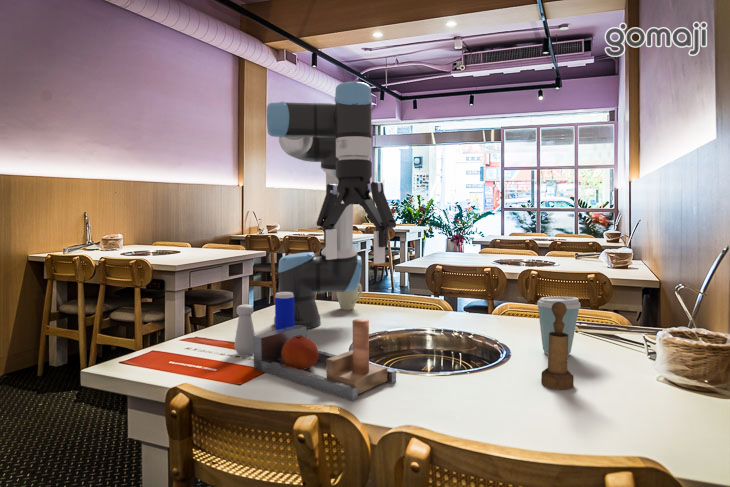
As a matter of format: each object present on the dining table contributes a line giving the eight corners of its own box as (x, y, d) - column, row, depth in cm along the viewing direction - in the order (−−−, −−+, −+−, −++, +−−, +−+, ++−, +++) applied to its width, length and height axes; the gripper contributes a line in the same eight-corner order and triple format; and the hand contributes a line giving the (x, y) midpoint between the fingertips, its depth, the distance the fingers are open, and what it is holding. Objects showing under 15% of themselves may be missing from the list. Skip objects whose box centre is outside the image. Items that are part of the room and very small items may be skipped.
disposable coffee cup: (528, 354, 132) (529, 297, 131) (546, 345, 140) (547, 291, 139) (569, 362, 125) (571, 302, 123) (585, 353, 132) (587, 296, 131)
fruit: (287, 377, 115) (286, 342, 114) (277, 365, 123) (277, 333, 123) (324, 371, 119) (323, 338, 118) (312, 361, 127) (312, 329, 126)
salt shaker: (251, 357, 129) (250, 307, 128) (230, 356, 131) (229, 307, 130) (260, 351, 135) (259, 303, 134) (240, 350, 136) (239, 302, 135)
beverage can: (298, 345, 141) (297, 292, 139) (288, 350, 136) (287, 295, 135) (282, 343, 143) (281, 291, 142) (272, 348, 138) (271, 293, 137)
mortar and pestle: (570, 392, 105) (572, 306, 104) (538, 386, 108) (539, 303, 107) (575, 382, 111) (578, 301, 109) (545, 377, 114) (546, 298, 113)
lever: (359, 373, 116) (359, 313, 115) (387, 381, 111) (387, 318, 110) (326, 386, 108) (326, 321, 107) (355, 395, 103) (354, 327, 101)
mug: (332, 311, 186) (332, 279, 185) (338, 306, 195) (338, 275, 194) (361, 312, 184) (361, 279, 183) (366, 306, 194) (366, 275, 193)
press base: (298, 354, 132) (298, 324, 131) (396, 381, 112) (396, 346, 111) (253, 368, 121) (253, 335, 120) (352, 401, 101) (352, 361, 100)
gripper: (299, 162, 110) (301, 258, 112) (389, 153, 94) (390, 267, 96) (324, 164, 116) (325, 256, 118) (413, 156, 100) (413, 263, 101)
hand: (354, 261), depth 107 cm, fingers open, 13 cm apart
